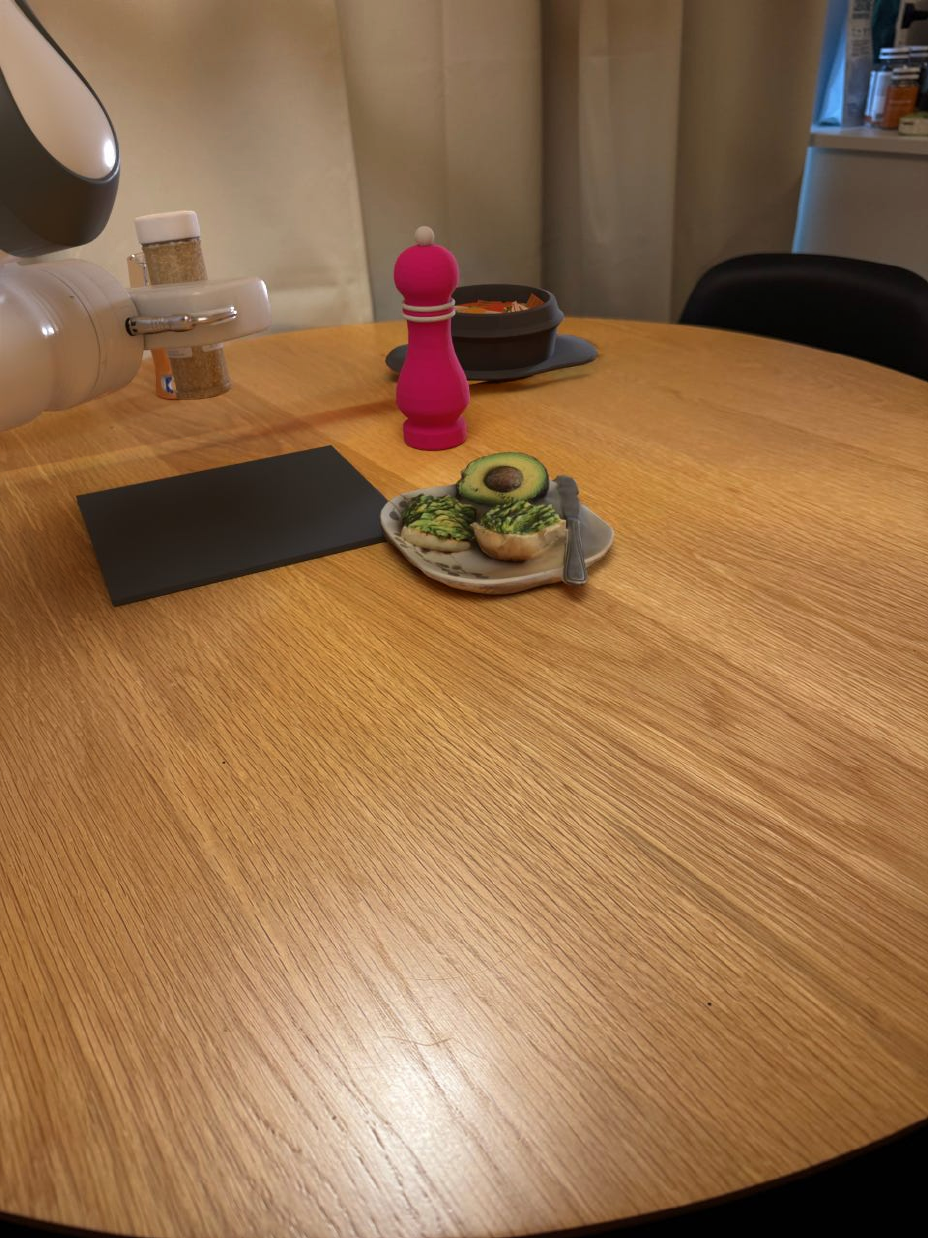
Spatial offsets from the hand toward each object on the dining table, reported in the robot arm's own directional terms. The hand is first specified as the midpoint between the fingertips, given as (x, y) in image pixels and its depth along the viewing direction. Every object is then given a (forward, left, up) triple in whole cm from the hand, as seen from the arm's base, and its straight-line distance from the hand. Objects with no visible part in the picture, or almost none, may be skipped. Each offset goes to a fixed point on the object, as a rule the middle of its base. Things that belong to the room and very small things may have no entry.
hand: (190, 301), depth 75 cm
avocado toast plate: (+17, -17, -18) cm, 30 cm away
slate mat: (+1, -2, -18) cm, 18 cm away
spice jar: (0, -2, -7) cm, 7 cm away
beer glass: (+3, +35, -18) cm, 39 cm away
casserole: (+37, +23, -18) cm, 47 cm away
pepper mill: (+23, +6, -18) cm, 29 cm away
